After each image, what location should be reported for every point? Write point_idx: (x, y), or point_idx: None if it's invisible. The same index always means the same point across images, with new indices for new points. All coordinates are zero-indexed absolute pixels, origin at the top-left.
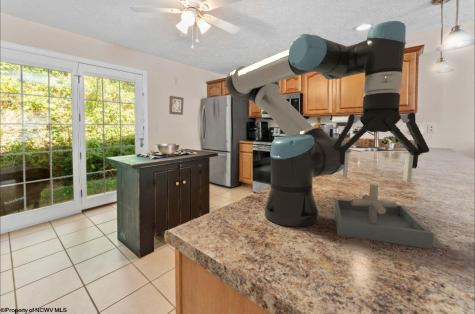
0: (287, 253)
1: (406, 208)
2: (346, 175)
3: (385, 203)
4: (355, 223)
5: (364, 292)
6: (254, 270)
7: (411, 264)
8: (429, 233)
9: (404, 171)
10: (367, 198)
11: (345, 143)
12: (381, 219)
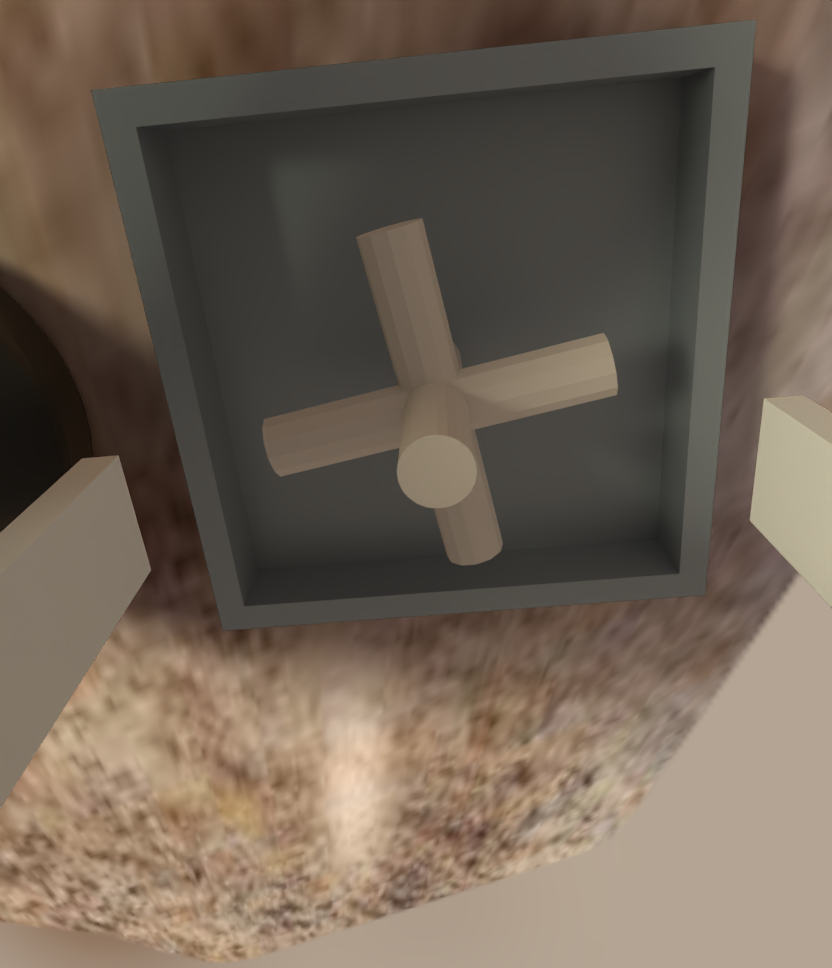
0: (91, 802)
1: (743, 133)
2: (131, 585)
3: (528, 414)
4: (319, 623)
5: (361, 878)
6: (44, 908)
7: (534, 704)
8: (685, 594)
9: (820, 465)
10: (395, 343)
11: None
12: (507, 274)
